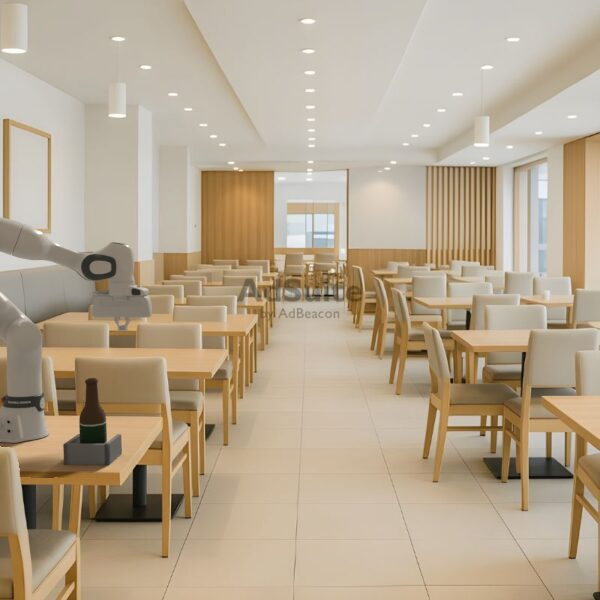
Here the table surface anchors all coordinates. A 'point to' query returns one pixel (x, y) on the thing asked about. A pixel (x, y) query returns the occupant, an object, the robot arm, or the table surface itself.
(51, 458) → the table surface
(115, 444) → the bottle stall
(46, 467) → the table surface
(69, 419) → the table surface
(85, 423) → the beer bottle
